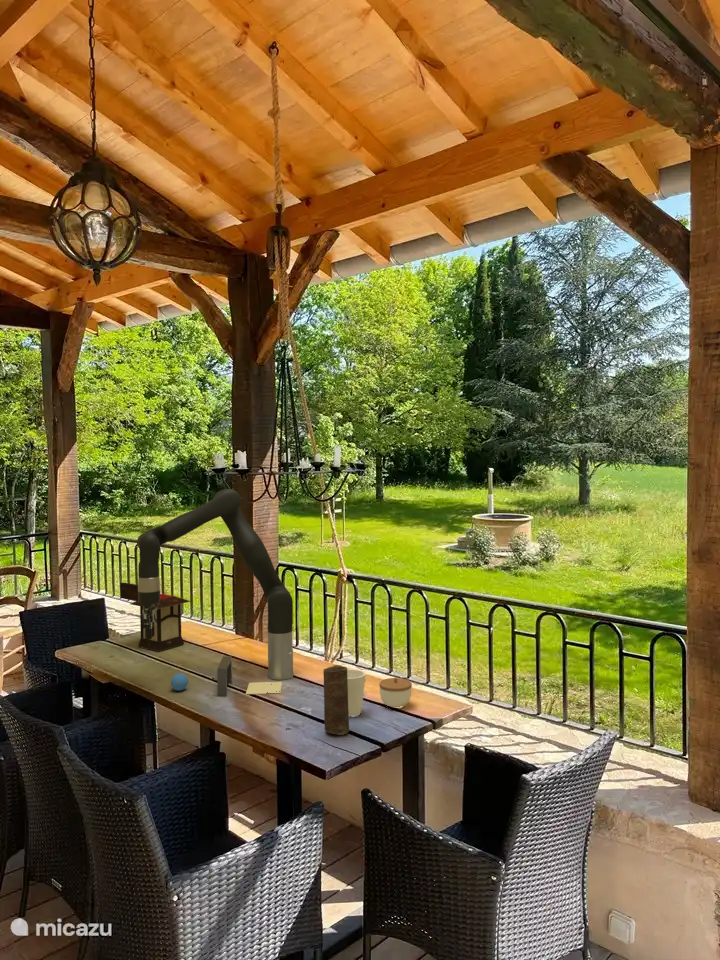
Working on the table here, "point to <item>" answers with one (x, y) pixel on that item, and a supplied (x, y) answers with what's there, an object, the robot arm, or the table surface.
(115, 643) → the table surface
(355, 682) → the foam cup
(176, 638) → the lantern
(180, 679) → the ball
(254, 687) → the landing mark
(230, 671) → the bridge
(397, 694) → the lidded jar
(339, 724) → the candle
